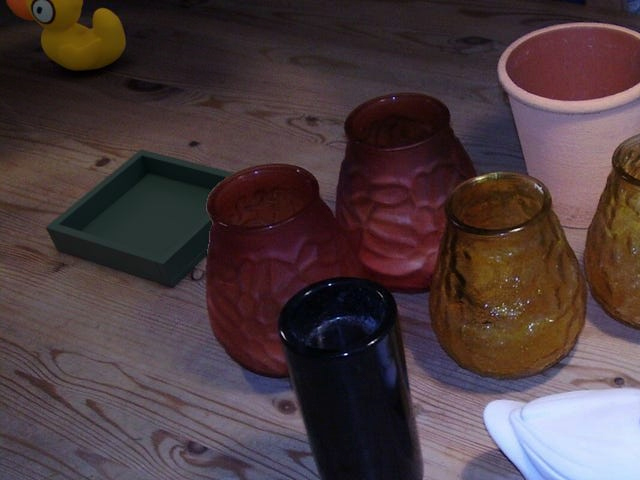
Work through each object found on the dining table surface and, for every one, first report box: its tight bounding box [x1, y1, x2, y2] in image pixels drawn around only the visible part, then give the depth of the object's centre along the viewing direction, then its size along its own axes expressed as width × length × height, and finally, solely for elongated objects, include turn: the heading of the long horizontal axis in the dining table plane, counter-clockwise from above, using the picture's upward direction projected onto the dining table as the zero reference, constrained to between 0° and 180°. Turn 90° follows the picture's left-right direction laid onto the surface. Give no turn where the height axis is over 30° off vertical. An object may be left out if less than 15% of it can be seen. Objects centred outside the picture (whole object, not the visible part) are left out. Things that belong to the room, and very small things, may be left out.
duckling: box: [5, 0, 127, 72], centre depth 109 cm, size 11×5×10 cm, turn 86°
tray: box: [45, 148, 234, 288], centre depth 89 cm, size 14×13×3 cm
